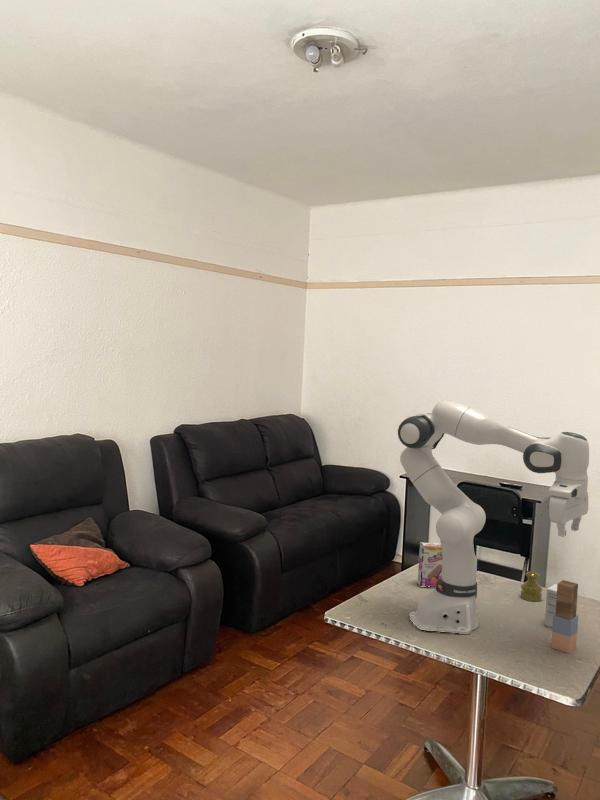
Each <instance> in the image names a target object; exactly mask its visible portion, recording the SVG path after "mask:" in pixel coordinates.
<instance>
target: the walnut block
mask: <svg viewBox="0 0 600 800" xmlns="http://www.w3.org/2000/svg"><path fill="white" fill-rule="evenodd" d="M556 584H557V599H556V615H555V616H559V617H562V618H565V619H569V620H571V619H573V618H574V617H575V616H576V615H577V606H578V605H577V604H578V589H579V583H577V582H571V581H569V580H568V581H567V580H564V579H563V580H561V581H560V582H557V583H556Z"/></svg>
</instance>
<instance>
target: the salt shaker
mask: <svg viewBox="0 0 600 800" xmlns="http://www.w3.org/2000/svg"><path fill="white" fill-rule="evenodd" d="M524 575H525V577H526V578H527V581H525V582H524V583H523V582H522V584H521V585H520V588H521V589H520V597H521V598H522V599H523V600H525V601H528V602H533V603H534V602H541V601H542V600H543V599H542V598H543V596H542V595H543V594H542V592H543V587H542V586H541V585H540V584H539V583H538V581H537V579H539V578H541V577H540V576H541V575H540V574H539V573H538V572H536V571H534V570H530V571H528V572H525V574H524Z"/></svg>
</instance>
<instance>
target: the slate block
mask: <svg viewBox="0 0 600 800" xmlns="http://www.w3.org/2000/svg"><path fill="white" fill-rule="evenodd" d="M555 615H556V614H554V615H553V625H552V627H551V628H552V629H551V633H552V632H556V633H559V634H562V635H565V636H568V637H571V636H573V635H574V634H575V633H576V632H577V633H578V625H579V624H578V623H579V615H577V614H576V616H575V617H574V618H573V619H571V620H569V619H565V618H562V617H559V616H555Z"/></svg>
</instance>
